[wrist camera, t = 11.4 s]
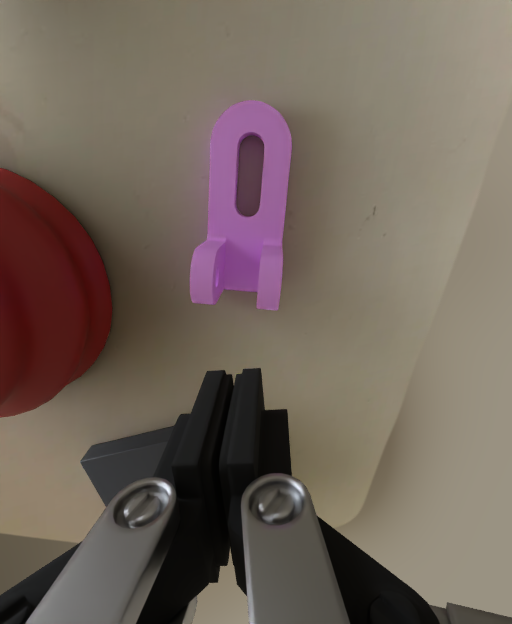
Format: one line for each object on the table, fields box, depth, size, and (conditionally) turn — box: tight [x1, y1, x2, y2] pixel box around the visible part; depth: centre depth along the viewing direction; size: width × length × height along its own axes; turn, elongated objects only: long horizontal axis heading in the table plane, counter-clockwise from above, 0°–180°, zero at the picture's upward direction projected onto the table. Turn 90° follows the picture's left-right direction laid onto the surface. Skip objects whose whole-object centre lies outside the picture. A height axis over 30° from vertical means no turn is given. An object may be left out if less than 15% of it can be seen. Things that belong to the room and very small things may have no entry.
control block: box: [80, 426, 174, 507], centre depth 32 cm, size 15×9×4 cm, turn 107°
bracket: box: [190, 100, 292, 310], centre depth 22 cm, size 13×6×7 cm, turn 175°
